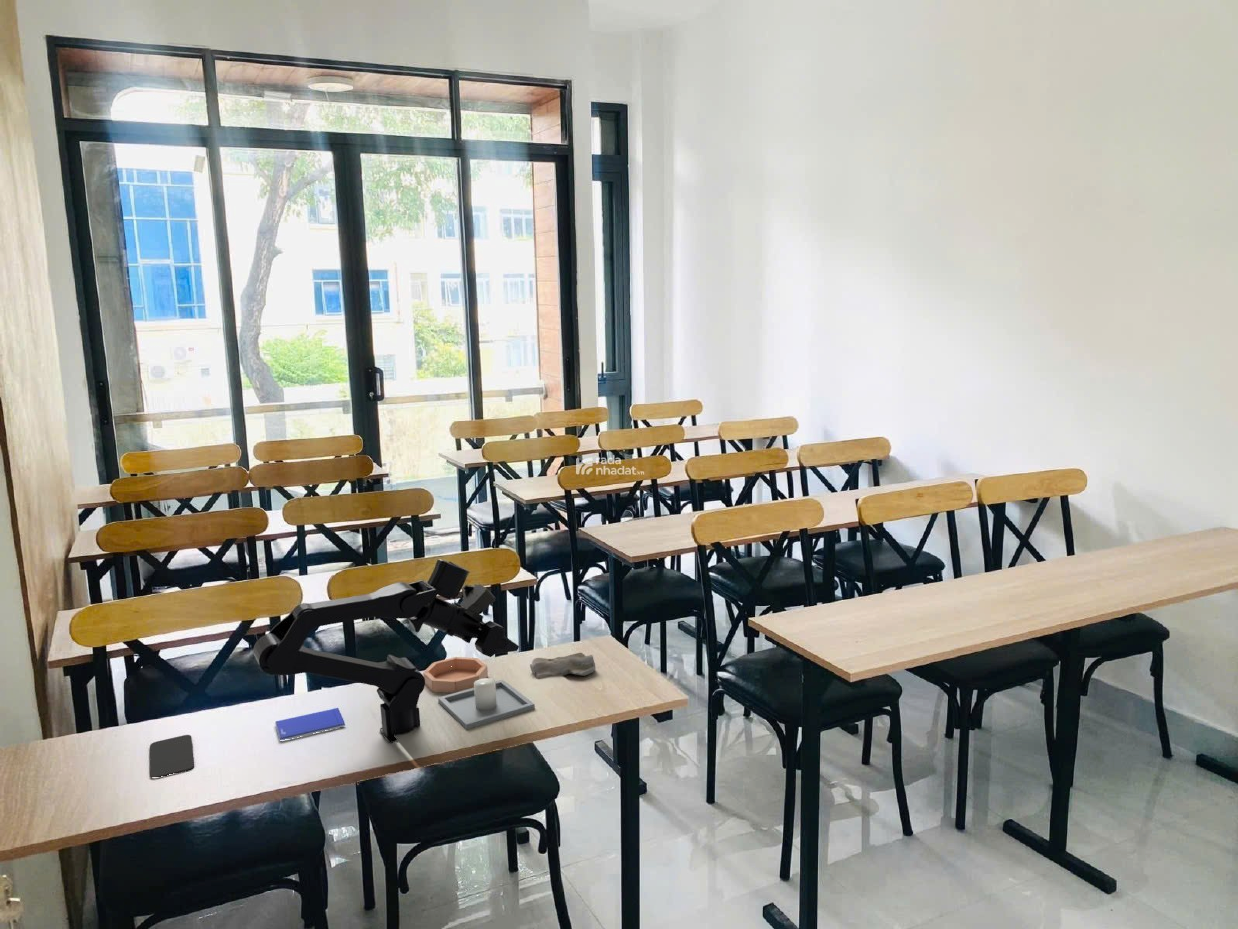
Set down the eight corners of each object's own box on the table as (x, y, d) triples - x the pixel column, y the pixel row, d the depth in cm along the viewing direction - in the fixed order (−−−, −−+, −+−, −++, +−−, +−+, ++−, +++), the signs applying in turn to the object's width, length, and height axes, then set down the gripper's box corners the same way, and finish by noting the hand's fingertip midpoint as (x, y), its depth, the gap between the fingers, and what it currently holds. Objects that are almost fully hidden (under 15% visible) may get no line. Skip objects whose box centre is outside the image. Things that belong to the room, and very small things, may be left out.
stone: (532, 686, 193) (531, 668, 192) (528, 669, 202) (528, 652, 202) (597, 679, 195) (597, 661, 195) (591, 662, 205) (591, 646, 204)
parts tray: (467, 734, 171) (466, 724, 171) (438, 706, 184) (438, 697, 183) (535, 713, 179) (534, 704, 179) (503, 688, 191) (502, 679, 191)
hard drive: (279, 737, 170) (344, 722, 176) (275, 720, 177) (337, 706, 183) (280, 745, 171) (345, 729, 176) (275, 727, 178) (338, 713, 183)
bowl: (439, 702, 186) (438, 686, 185) (418, 681, 197) (417, 666, 196) (495, 686, 193) (494, 671, 192) (471, 667, 203) (470, 653, 203)
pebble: (480, 712, 178) (479, 689, 177) (471, 704, 182) (470, 681, 181) (500, 706, 180) (498, 683, 180) (491, 698, 184) (489, 676, 183)
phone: (149, 778, 158) (149, 743, 171) (150, 782, 158) (150, 747, 171) (194, 767, 161) (191, 733, 174) (195, 771, 161) (191, 737, 174)
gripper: (482, 591, 168) (545, 618, 176) (446, 570, 183) (506, 596, 192) (456, 644, 166) (521, 669, 174) (422, 618, 182) (483, 643, 190)
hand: (508, 642), depth 183 cm, fingers open, 9 cm apart
